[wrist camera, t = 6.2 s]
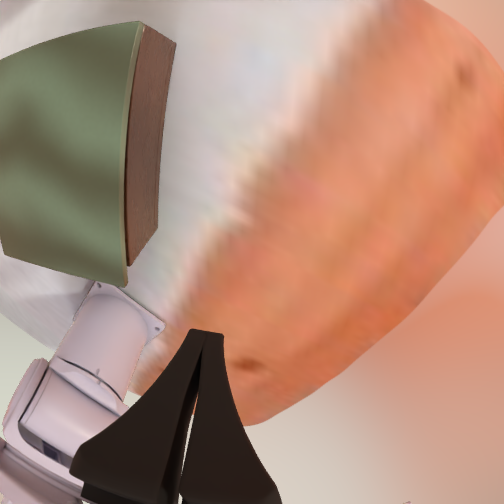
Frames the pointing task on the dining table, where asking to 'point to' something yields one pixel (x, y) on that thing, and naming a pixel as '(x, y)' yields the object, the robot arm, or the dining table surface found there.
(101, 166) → the sage green tile
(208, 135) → the dining table surface
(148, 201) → the brown box
